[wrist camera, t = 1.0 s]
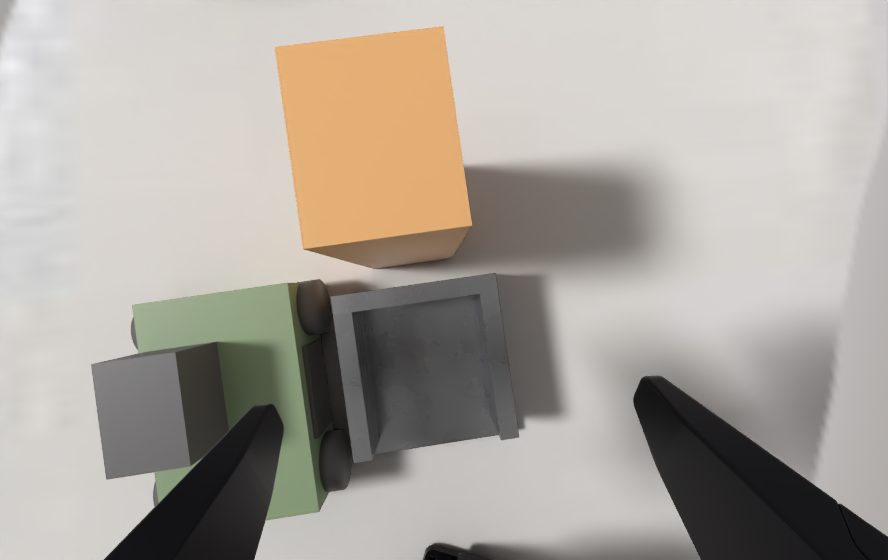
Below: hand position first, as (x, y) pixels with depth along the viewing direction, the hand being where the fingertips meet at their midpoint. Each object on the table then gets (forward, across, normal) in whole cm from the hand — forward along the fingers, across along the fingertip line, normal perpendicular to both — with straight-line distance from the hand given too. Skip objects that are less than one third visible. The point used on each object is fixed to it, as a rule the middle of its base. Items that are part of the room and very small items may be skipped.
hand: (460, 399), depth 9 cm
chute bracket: (+10, +1, +10) cm, 14 cm away
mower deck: (+10, +12, +10) cm, 19 cm away
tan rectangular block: (+16, +2, +2) cm, 16 cm away
